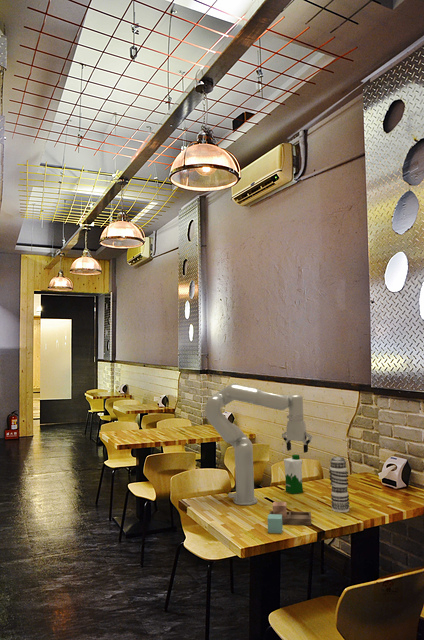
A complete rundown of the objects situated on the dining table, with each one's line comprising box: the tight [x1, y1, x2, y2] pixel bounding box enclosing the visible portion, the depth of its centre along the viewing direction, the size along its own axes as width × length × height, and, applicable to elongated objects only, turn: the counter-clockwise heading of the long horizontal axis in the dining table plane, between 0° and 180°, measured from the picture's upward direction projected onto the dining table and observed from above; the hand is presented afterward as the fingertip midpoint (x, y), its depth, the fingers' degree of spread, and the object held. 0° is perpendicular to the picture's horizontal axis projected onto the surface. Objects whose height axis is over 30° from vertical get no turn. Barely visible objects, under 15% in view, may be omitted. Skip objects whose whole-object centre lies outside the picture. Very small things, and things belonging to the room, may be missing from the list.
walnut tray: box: [269, 501, 312, 526], centre depth 217 cm, size 19×10×8 cm, turn 79°
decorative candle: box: [328, 456, 350, 513], centre depth 232 cm, size 9×9×25 cm
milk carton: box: [283, 454, 304, 495], centre depth 264 cm, size 9×9×20 cm
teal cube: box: [267, 514, 284, 534], centre depth 205 cm, size 6×6×6 cm
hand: (297, 451), depth 247 cm, fingers open, 9 cm apart
